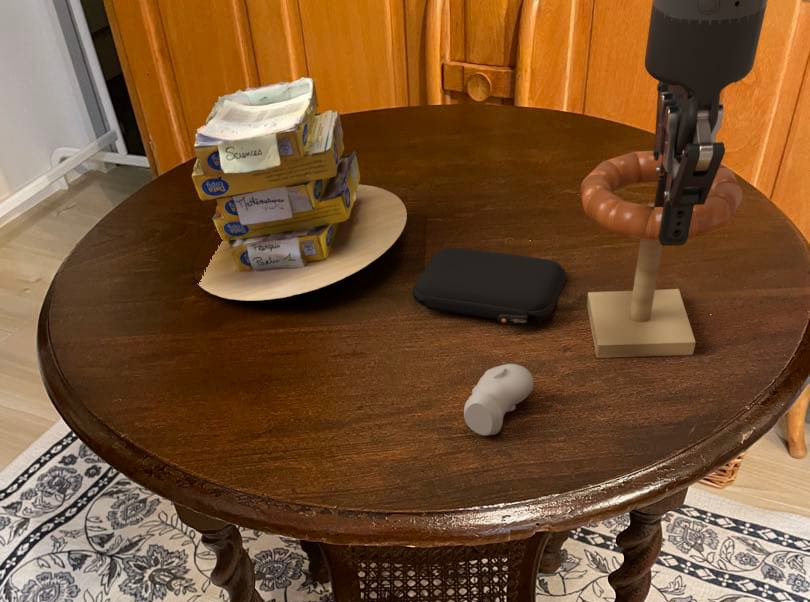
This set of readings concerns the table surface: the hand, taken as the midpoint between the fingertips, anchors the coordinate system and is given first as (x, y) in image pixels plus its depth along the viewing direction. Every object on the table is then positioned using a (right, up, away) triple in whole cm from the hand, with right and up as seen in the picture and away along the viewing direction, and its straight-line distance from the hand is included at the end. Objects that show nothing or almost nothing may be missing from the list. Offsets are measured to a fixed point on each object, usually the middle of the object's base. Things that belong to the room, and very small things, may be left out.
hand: (668, 232), depth 71 cm
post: (+1, -5, +13) cm, 14 cm away
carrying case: (-13, -1, +18) cm, 23 cm away
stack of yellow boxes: (-34, +7, +27) cm, 44 cm away
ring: (0, +4, +3) cm, 5 cm away
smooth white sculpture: (-14, -14, +6) cm, 21 cm away
